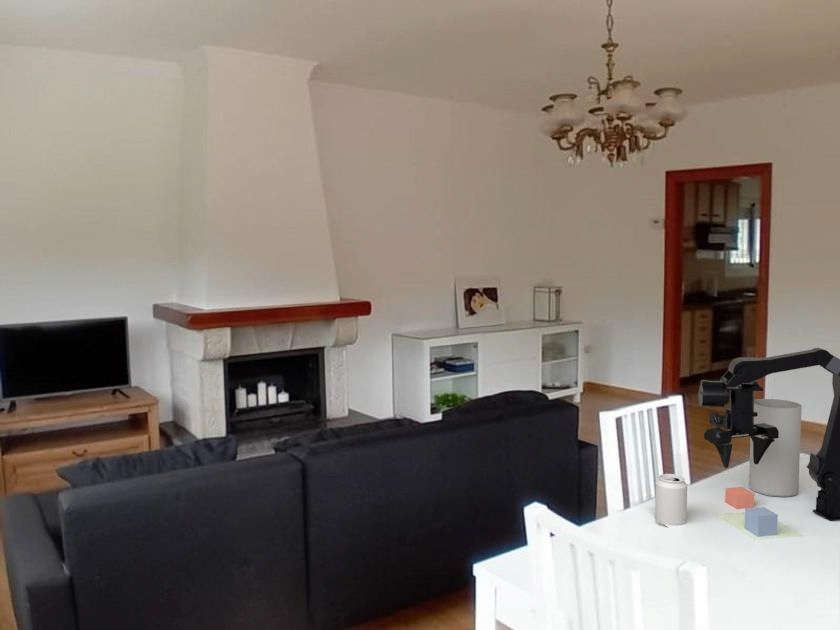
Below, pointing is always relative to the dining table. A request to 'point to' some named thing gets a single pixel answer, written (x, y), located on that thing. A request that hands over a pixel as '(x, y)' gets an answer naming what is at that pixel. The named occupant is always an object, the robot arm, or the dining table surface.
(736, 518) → the build board
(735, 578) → the dining table surface
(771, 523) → the blue brick
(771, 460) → the gray cylinder
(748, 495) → the red brick
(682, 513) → the can
